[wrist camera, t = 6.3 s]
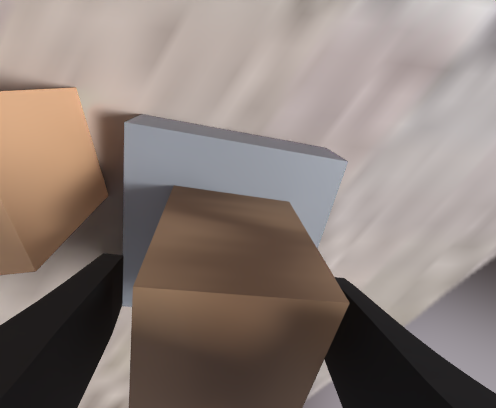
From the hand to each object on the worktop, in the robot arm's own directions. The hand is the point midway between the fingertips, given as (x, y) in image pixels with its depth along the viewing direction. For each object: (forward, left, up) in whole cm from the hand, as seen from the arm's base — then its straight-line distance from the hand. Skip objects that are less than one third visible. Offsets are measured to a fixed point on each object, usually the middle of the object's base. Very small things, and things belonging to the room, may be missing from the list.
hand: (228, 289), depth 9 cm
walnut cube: (0, 0, -3) cm, 3 cm away
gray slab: (0, 0, -6) cm, 6 cm away
